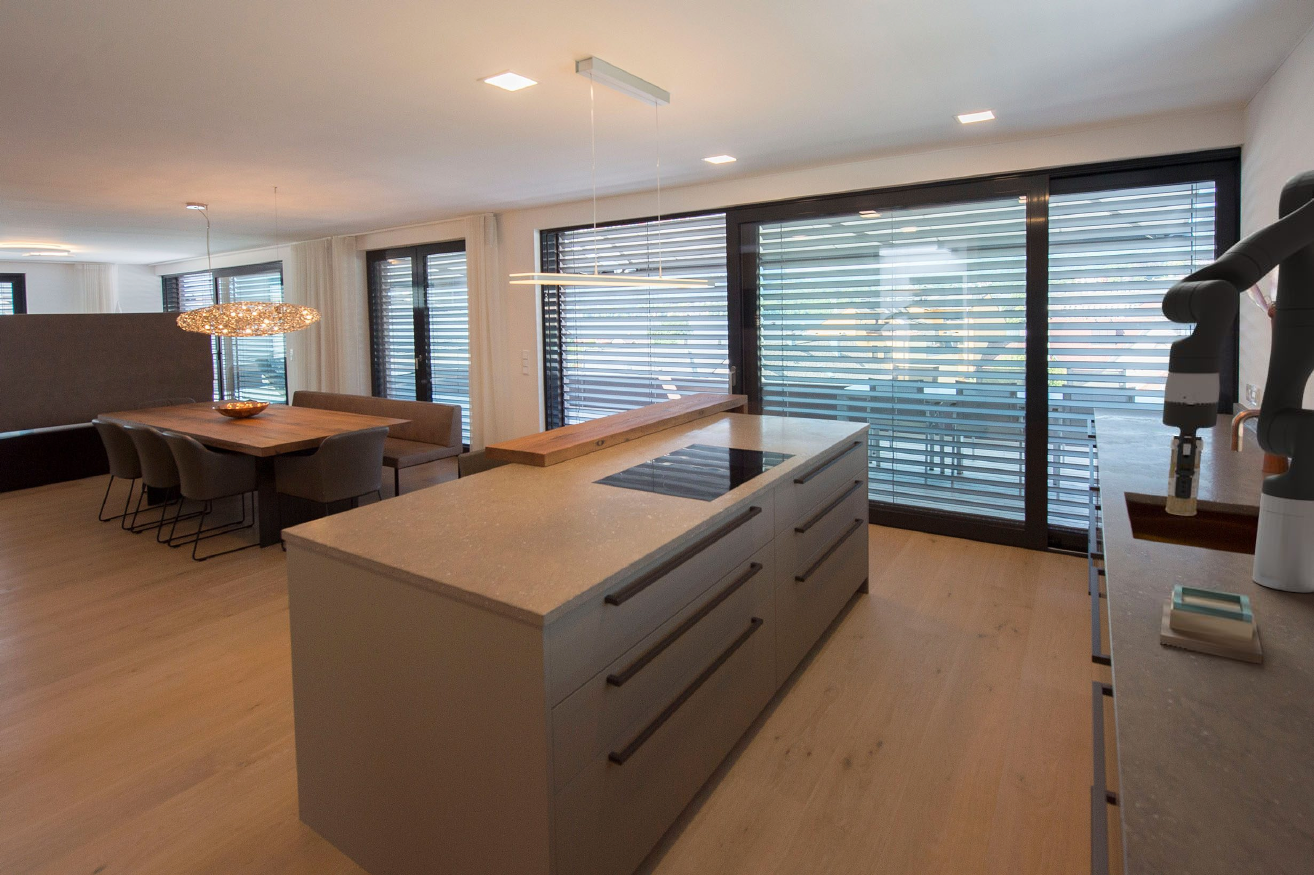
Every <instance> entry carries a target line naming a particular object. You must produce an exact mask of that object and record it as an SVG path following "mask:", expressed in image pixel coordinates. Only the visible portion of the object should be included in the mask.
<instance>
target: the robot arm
mask: <svg viewBox="0 0 1314 875" xmlns="http://www.w3.org/2000/svg"><path fill="white" fill-rule="evenodd" d="M1281 189H1282V190H1281V193H1280V196H1279V202H1278V219H1277V220H1276V221H1274V222H1272V223H1270V224H1268V225H1265V226H1264V227H1261V228H1260V229H1258V230H1256V231H1254V232H1252V233H1250V234H1248V235H1247V236H1245V237H1244V238H1242V239H1241V240H1239V241H1238V242H1236V243H1235V244H1234V245H1232V246H1231V247H1230V248H1229V249H1228V250H1227V251H1225V252H1224V253H1223V254H1222V255H1220V257H1219V258H1216V260H1215V261H1213V262H1212V263H1210V264H1208V265H1206V266H1204V267H1202V268H1199V269H1198V270H1195V271H1194V272H1192V273H1191V274H1189V275H1187V276H1185V277H1183V278H1182V279H1180V280H1179V281H1177V282H1176V283H1175V284H1173V285H1172V286H1171V287H1170V288H1169V289H1168V291H1166V293H1165V294H1164V297H1163V299H1162V302H1161V311H1162V314H1163V316H1164V317H1165V319H1167V320H1168V321H1170V322H1172V323H1175V324H1196V325H1195V327H1194V329H1193V331H1192V333H1191V335H1189V336H1187V337H1186V336H1185V337H1181V338H1178V339H1176V340H1174V341H1173V342H1172V343H1171V345H1170V349H1169V357H1168V358H1169V359H1168V360H1169V361H1168V371H1167V378H1166V381H1165V386H1164V397H1163V398H1164V399H1163V410H1162V411H1163V413H1162V420H1161V421H1162V424H1163V425H1165V426H1167V427H1172V428H1173V427H1174V428H1178V429H1179V434H1178V435H1177V434H1173V438H1174V439H1173V446H1174V447H1175V449H1174V463H1176V464H1177V467H1176V470H1175V474H1176V488H1175V497H1176V498H1181V499H1189V498H1190V497H1191V487H1192V478H1193V476H1194V474H1195V471H1194V465H1196V464H1198V458H1199V449H1200V448H1201V444H1202V440H1203V439H1202V436H1197V431H1198V430H1199V429H1213V428H1214V427H1215V426H1217V421H1218V410H1219V400H1220V399H1219V398H1220V387H1221V386H1220V368H1221V367H1220V366H1221V352H1222V348H1223V346H1224V344H1225V341H1226V339H1227V337H1228V334H1229V331H1230V329H1231V327H1232V325H1233V322H1234V319H1235V318H1236V314H1237V313H1238V309H1239V304H1240V298H1239V294H1241V293H1244V292H1246V291H1248V290H1249V289H1250V288H1251V289H1252V287H1253V286H1255V285H1256V284H1257V283H1258V282H1260V281H1261V280H1262V279H1263V278H1264V277H1265V276H1267V275H1268V274H1269V273H1270V272H1271V271H1273V270H1274V269H1275V268H1276V267H1277V266H1278V271H1277V272H1278V274H1277V285H1276V295H1275V296H1276V297H1275V302H1274V303H1275V304H1274V311H1273V319H1272V329H1271V330H1272V333H1271V345H1270V347H1271V348H1270V353H1269V354H1270V355H1269V362H1268V370H1267V377H1266V381H1265V387H1264V390H1263V391H1264V392H1263V395H1262V400H1261V403H1260V409H1259V413H1258V417H1257V422H1256V423H1257V424H1256V429H1255V430H1256V441H1257V444H1258V446H1259V447H1260V449H1261V450H1262V451H1263V452H1265V453H1267V454H1269V455H1271V456H1272V455H1273V456H1277V457H1278V456H1279V457H1283V458H1284V457H1285V458H1288V459H1290V463H1289V466H1288V469H1287V471H1285V472H1283V473H1281V474H1274V475H1269V476H1266V477H1264V478H1263V481H1262V485H1261V495H1260V504H1259V515H1258V522H1257V532H1256V542H1255V550H1254V551H1255V552H1254V559H1253V560H1254V561H1253V570H1252V580H1253V582H1254V583H1257V584H1258V585H1262V586H1264V587H1268V588H1271V589H1274V590H1281V591H1284V592H1295V593H1314V409H1312V408H1311V409H1310V408H1309V409H1308V408H1303V400H1304V394H1305V390H1306V385H1307V383H1308V380H1309V378H1310V377H1311V375H1312V373H1313V372H1314V169H1313V170H1307V171H1303V172H1300V173H1297V174H1294V175H1292V176H1291V177H1290V178H1288V179H1287V181H1286V182H1285V183H1284V185H1283V186H1282V188H1281ZM1178 441H1179V442H1178ZM1180 464H1190V465H1191V468H1190V469H1187V468H1180Z"/></svg>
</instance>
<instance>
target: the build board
mask: <svg viewBox="0 0 1314 875" xmlns="http://www.w3.org/2000/svg"><path fill="white" fill-rule="evenodd" d="M1173 587H1174V589H1173V590H1171V598H1170V599H1168V598H1163V605H1162V606H1163V607H1162V618H1161V625H1160V626H1161V628H1160V636H1159V638H1160V640H1159V644H1160V643H1162V644H1161V645H1164V644H1167V645H1166V646H1169V645H1173V646H1172V647H1174V646H1177V647H1176V648H1179V647H1182V648H1181V649H1184V648H1187V649H1186V650H1190V651H1194V650H1195V651H1194V652H1200V653H1203V654H1208V655H1209V654H1210V655H1215V656H1219V657H1224V658H1229V659H1233V660H1234V659H1235V660H1239V661H1245V662H1249V663H1255V664H1259V665H1262V660H1263V652H1262V648H1261V646H1262V645H1261V641H1260V638H1259V633H1258V627H1257V623H1256V618H1255V614H1254V613H1252V608H1251V604H1250V599H1249V595H1246V594H1239V593H1233V592H1227V591H1219V590H1214V589H1213V590H1212V589H1209V588H1202V587H1195V586H1189V585H1182V584H1176V583H1175V584H1174V586H1173Z"/></svg>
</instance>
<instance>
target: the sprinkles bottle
mask: <svg viewBox="0 0 1314 875" xmlns="http://www.w3.org/2000/svg"><path fill="white" fill-rule="evenodd" d="M1173 439H1174V437H1172V438H1170V451H1171V453H1170V464H1169V465H1170V466H1169V471H1168V483H1167V490H1166V492H1167V493H1166V494H1167V498H1166V499H1167V500H1166V506H1165V511H1166V513H1168V514H1171V515H1178V516H1186V517H1188V516H1195V515H1197V503H1198V502H1197V501H1198V496H1199V488H1200V476H1201V461H1202V451H1203V450H1204V440H1203V439H1202V444H1201V448H1200V449H1199V458H1198V464H1196V465H1194V471H1195V474H1194V476H1193V478H1192V487H1191V497H1190V498H1189V499H1181V498H1176V497H1175V488H1176V474H1175V470H1176V467H1177V464H1176V463H1174V449H1175V447H1174V446H1173ZM1178 442H1179V441H1178ZM1180 468H1187V469H1190V468H1191V465H1190V464H1180Z"/></svg>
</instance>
